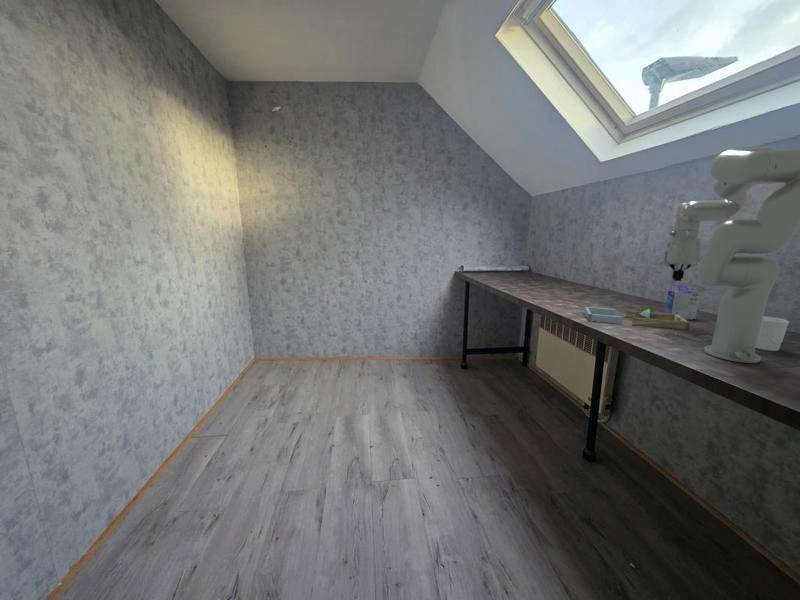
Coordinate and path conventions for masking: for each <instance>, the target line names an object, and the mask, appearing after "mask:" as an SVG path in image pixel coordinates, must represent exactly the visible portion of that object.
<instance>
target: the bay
mask: <svg viewBox="0 0 800 600" xmlns="http://www.w3.org/2000/svg"><path fill="white" fill-rule="evenodd" d="M616 312H617V310H616V308H605V307H593V306H584V312H583V314H584V315H585V318H586V317H587V318H586V319H588V320H587V321H588V322H594V321H596V322H597V323H609V324H615V325H616V324H617V325H622V323H623V316H619V315H616Z"/></svg>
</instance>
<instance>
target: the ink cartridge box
mask: <svg viewBox="0 0 800 600" xmlns="http://www.w3.org/2000/svg"><path fill="white" fill-rule="evenodd" d="M677 287H678V288H677V289H678V290H667V291H668V292H667V297H666V298H667V299H666V306H665V312H664V313H668V314H677V315H679V316H680V317H682V318H684V319H685V320H693V319H695V320H696V316H697V311H698V305H699V301H700V296H701V292H697V291H694V290H689V286H688V285H678V286H677Z"/></svg>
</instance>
